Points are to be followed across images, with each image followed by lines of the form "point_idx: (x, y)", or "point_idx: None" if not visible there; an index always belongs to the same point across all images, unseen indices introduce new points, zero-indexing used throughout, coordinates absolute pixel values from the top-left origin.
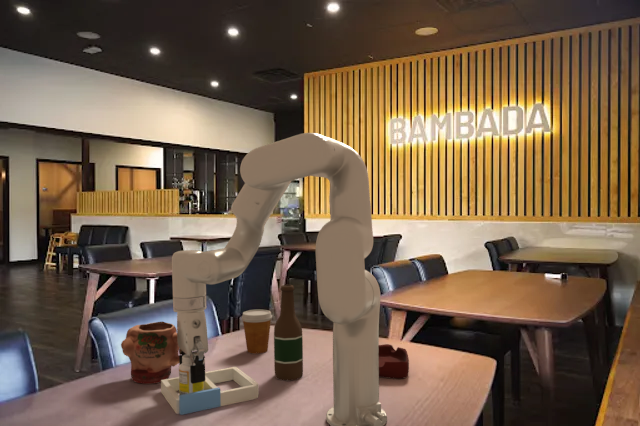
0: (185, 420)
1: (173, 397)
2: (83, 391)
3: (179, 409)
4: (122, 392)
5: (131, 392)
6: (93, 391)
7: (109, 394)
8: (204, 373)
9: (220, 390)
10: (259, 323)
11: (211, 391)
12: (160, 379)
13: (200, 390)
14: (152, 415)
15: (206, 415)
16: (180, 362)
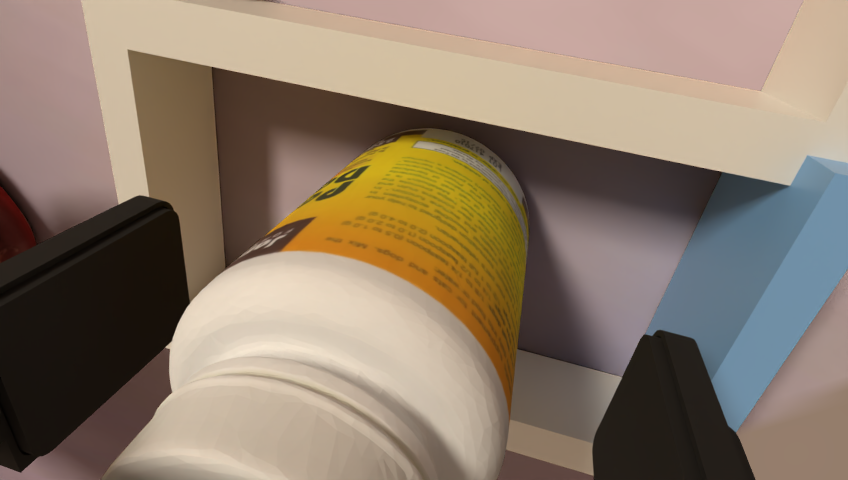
0: (758, 422)
1: (533, 451)
2: (54, 475)
3: None
4: (121, 403)
5: (137, 381)
6: (66, 457)
7: (125, 442)
8: (714, 415)
9: (790, 120)
10: None
11: (824, 284)
12: (15, 226)
13: (522, 228)
14: (515, 472)
15: (835, 303)
16: (106, 391)
